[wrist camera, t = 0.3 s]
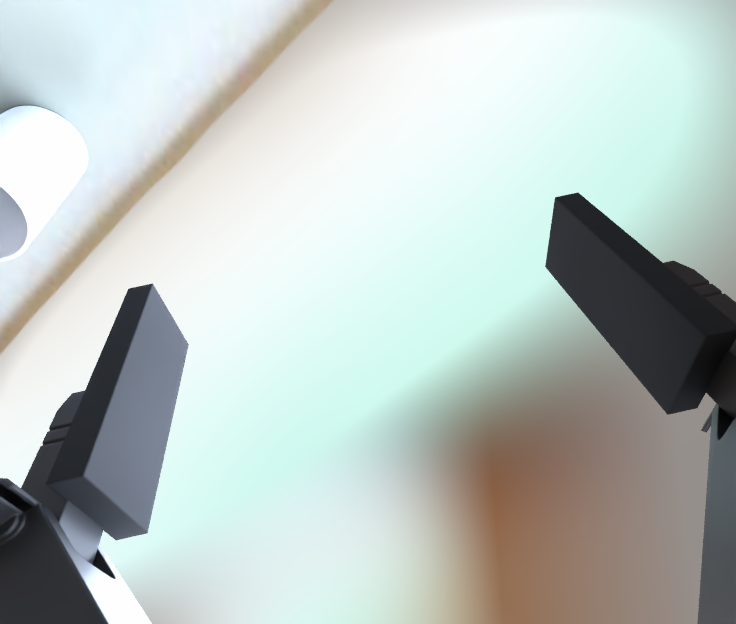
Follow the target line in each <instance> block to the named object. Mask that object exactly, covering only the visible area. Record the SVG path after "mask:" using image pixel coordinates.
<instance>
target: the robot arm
mask: <svg viewBox="0 0 736 624" xmlns="http://www.w3.org/2000/svg"><path fill="white" fill-rule="evenodd" d="M545 267H546V268H547V269H548V270H549V272H550V273H551V274H552V275H553V277H554V278H555V279H556V280H557V281H558V283H559V284H560V285H561V286H562V288H563V289H564V290H565V291H566V292H567V294H568V295H569V296H570V297H571V298H572V300H573V301H574V302H575V303H576V304H577V306H578V307H579V308H580V309H581V310H582V312H583V313H584V314H585V315H586V316H587V318H588V319H589V320H590V321H591V323H592V324H593V325H594V326H595V327H596V329H597V330H598V331H599V332H600V333H601V335H602V336H603V337H604V338H605V339H606V341H607V342H608V343H609V344H610V346H611V347H612V348H613V349H614V350H615V351H616V353H617V354H618V355H619V356H620V358H621V359H622V360H623V361H624V362H625V363H626V365H627V366H628V367H629V368H630V370H632V372H633V373H634V375H635V376H636V377H637V378H638V379H639V381H640V382H641V383H642V384H643V385H644V387H646V389H647V390H648V391H649V393H650V394H651V395H652V396H653V397H654V399H655V400H656V401H657V402H658V403H659V405H660V406H661V407H662V408H663V410H664V411H665V412H666V413H667V414H673V413H677V412H682V411H686V410H690V409H695V408H697V407H698V406H699V404H700V402H701V400H702V398H703V397H704V395H705V393H707V394H708V395H709V396H710V397H711V398H712V399H713V400H714V401H715V402H716V405H715V407H714V408H713V410H712V412H711V413H710V415H709V417H708V418H707V420H706V422H705V424H704V426H703V428H702V431H704V432H707V431H708V429H709V428H710V426H711V436H710V437H711V438H710V451H709V465H708V466H709V467H708V480H707V495H706V509H705V525H704V539H703V554H702V568H701V583H700V598H699V612H698V624H736V302H735V301H733V300H732V299H731V298H730V297H728V296H727V295H726V294H722V293H721V290H719V289H718V288H717V287H716V286H714V285H713V284H709V281H708V280H706V279H705V278H704V277H703V276H702V275H700V274H699V273H697V272H696V271H695V270H694V269H691V268H689V267H687V266H684V265H682V264H680V263H678V262H675V261H670V262H665V263H662V262H661V261H660V260H659V259H657V258H656V257H655V256H654V255H653V254H651V253H650V252H649V251H648V250H646V249H645V248H644V247H643V246H642V245H640V244H639V243H638V242H637V241H636V240H634V239H633V238H632V237H631V236H629V235H628V234H627V233H626V232H625V231H624V230H622V229H621V228H620V227H619V226H617V225H616V224H615V223H614V222H613V221H611V220H610V219H609V218H608V217H607V216H605V215H604V214H603V213H602V212H601V211H600V210H598V209H597V208H596V207H595V206H593V205H592V204H591V203H590V202H589V201H588V200H586V199H585V198H584V197H583V196H581V195H580V194H579V193H574V194H569V195H565V196H560V197H556V198H555V202H554V209H553V216H552V224H551V230H550V238H549V245H548V252H547V259H546V266H545ZM187 349H188V343H187V341H186V340H185V338H184V337H183V334H182V333H181V331H180V329H179V328H178V326H177V324H176V323H175V321H174V319H173V317H172V316H171V314H170V312H169V311H168V309H167V307H166V306H165V304H164V302H163V301H162V299H161V297H160V295H159V294H158V292H157V290H156V289H155V287H154V285H153V284H149V285H144V286H139V287H135V288H130V289H128V291H127V294H126V296H125V298H124V301H123V303H122V306H121V308H120V310H119V313H118V315H117V317H116V320H115V322H114V324H113V327H112V329H111V331H110V334H109V336H108V338H107V341H106V343H105V345H104V348H103V350H102V352H101V355H100V357H99V360H98V362H97V364H96V367H95V369H94V371H93V374H92V376H91V378H90V381H89V383H88V385H87V388H86V390H85V391H82V392H77V393H73V394H71V396H70V397H69V398H68V399H67V400H66V401H65V402H64V404H63V405H62V406H61V407H60V408H59V410H58V411H57V413H56V415H55V417H54V419H53V421H52V423H51V425H50V428H49V429H50V431H49V432H47V434H46V436H45V438H44V441H43V446H41V447H40V449H39V451H38V453H37V456H36V458H35V460H34V462H33V464H32V466H31V469H30V470H29V473H28V475H27V477H26V479H25V481H24V483H23V485H22V488H19V487H18V486H17V485H15V484H14V483H13V482H11V481H10V480H9V479H3V478H0V624H152V623H151V622H150V620H149V619H148V618H147V616H146V614H145V613H144V611H143V609H142V608H141V606H140V605H139V603H138V602H137V600H136V599H135V597H134V596H133V594H132V592H131V591H130V589H129V588H128V586H127V585H126V583H125V582H124V580H123V578H122V577H121V575H120V574H119V572H118V571H117V569H116V568H115V566H114V564H113V563H112V561H111V560H110V558H109V557H108V555H107V554H106V552H105V551H104V550H103V549H101V548H100V547H99V542H100V539H101V536H102V532H103V530H104V531H105V532H106V533H108V534H109V535H110V536H111V537H113V538H114V539H115V540H119V539H123V538H128V537H132V536H136V535H141V534H146V533H147V532H148V528H149V523H150V519H151V514H152V509H153V505H154V500H155V496H156V491H157V487H158V482H159V477H160V472H161V468H162V463H163V459H164V454H165V450H166V445H167V441H168V436H169V432H170V426H171V422H172V418H173V413H174V408H175V404H176V399H177V395H178V390H179V386H180V381H181V376H182V372H183V367H184V363H185V358H186V354H187Z"/></svg>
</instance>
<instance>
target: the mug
mask: <svg viewBox="0 0 736 624" xmlns="http://www.w3.org/2000/svg"><path fill="white" fill-rule="evenodd" d="M87 162H88V154H87V149H86V146H85V143H84V141H83V139H82V138H81V136H80V134H79V133H78V132H77V130H76V129H75V128H74V127H73V126H72V125H71V124H70V123H69V122H68V121H66V120H65V119H64V118H62V117H61V116H59V115H58V114H56V113H54V112H52V111H50V110H47V109H44V108H41V107H37V106H18V107H14V108H11V109H9V110H7V111H6V112H4V113H2V114H0V262H3V261H7V260H11V259H13V258H16V257H17V256H19V255H20V254H22V253H23V252H24V251H25V250H26V248H27V247H28V245H29V243H30V242H31V241H32V240H33V239H34V238H35V236H36V235H37V234H38V233H39V231H40V230H41V229H42V228H43V226H44V225H45V224H46V222H47V221H48V220H49V218H50V217H51V216H52V214H53V213H54V212H55V210H56V209H57V208H58V206H59V205H60V204H61V202H62V201H63V200H64V199H65V197H66V196H67V195H68V193H69V192H70V191H71V190H72V188H73V187H74V186H75V184H76V183H77V181H78V180H79V179H80V177H81V176H82V174H83V173H84V171H85V169H86V167H87Z"/></svg>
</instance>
